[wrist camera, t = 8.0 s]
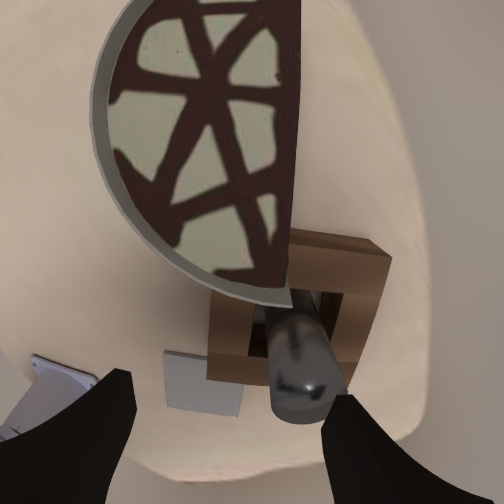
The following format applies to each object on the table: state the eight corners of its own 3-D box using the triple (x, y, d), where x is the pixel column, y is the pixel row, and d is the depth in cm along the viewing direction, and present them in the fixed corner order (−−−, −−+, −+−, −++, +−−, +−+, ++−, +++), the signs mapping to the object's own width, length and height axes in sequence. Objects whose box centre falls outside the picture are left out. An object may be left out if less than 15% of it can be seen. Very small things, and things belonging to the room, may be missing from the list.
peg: (304, 321, 19) (333, 424, 10) (260, 315, 19) (264, 422, 10) (315, 280, 18) (358, 374, 10) (268, 274, 18) (279, 370, 9)
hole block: (335, 356, 20) (347, 388, 17) (212, 346, 20) (206, 379, 16) (368, 239, 17) (392, 257, 14) (223, 220, 17) (216, 235, 14)
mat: (238, 413, 22) (238, 416, 22) (168, 403, 22) (167, 406, 21) (246, 361, 20) (246, 365, 20) (164, 350, 20) (163, 353, 20)
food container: (178, 34, 13) (113, -59, 4) (280, 34, 14) (308, -73, 4) (167, 229, 17) (83, 307, 8) (270, 233, 17) (290, 325, 8)
